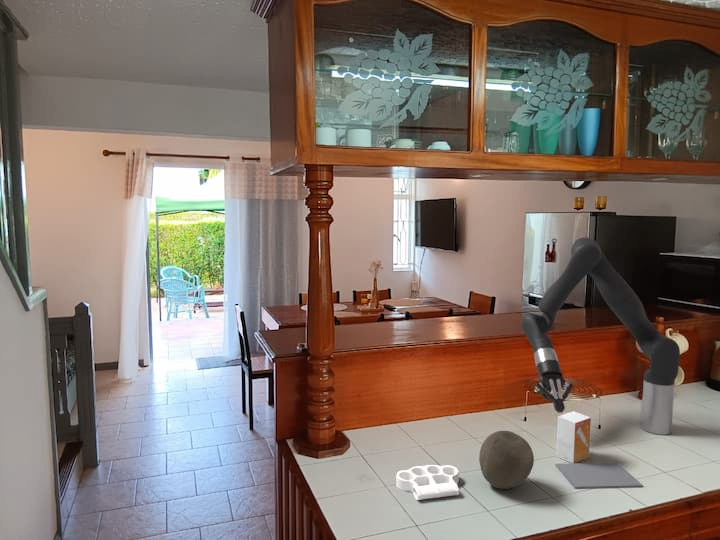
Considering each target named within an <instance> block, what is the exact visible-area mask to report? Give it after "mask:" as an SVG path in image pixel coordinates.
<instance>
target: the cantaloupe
mask: <svg viewBox="0 0 720 540" xmlns="http://www.w3.org/2000/svg"><path fill="white" fill-rule="evenodd" d="M533 452H534V451H533V449H532V448H531V446H530V444H529V442H528V441H527V440H526V439H525V438H524V437H523V436H521V435H520V434H516V433H515V432H513V431H509V430H499V431H495V432H493V433H491V434H489V435H488V436H487V437H486V438H485V440H484V441H483V443H482V444H481V446H480V450H479V456H478V459H479V460H478V461H479V466H480V470H481V474H482V475H483V478H484V479H485V480H486V482H488V483H489V484H490V485H492V486H493V487H495V488H497V489H502V490H503V489H504V490H505V489H506V490H507V489H511V488H515V487H517V486H519V485H520V484H521V483H523V482H524V481H526V479H527V478H528V477H529V476H530V475H531V472H532V469H533V467H534V461H535V460H534V459H535V458H534V453H533Z"/></svg>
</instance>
